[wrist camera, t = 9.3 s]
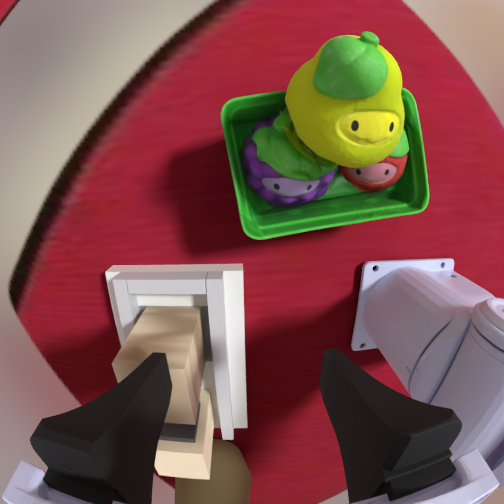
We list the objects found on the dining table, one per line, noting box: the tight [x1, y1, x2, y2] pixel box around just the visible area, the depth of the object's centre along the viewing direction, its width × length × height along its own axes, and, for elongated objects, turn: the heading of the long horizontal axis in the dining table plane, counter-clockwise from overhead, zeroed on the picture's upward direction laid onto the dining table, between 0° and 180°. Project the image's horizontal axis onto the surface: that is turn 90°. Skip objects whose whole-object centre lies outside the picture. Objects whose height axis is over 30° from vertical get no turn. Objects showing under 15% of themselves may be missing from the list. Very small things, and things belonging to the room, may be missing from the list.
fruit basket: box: [221, 32, 429, 240], centre depth 13 cm, size 11×9×11 cm
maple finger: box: [112, 306, 206, 425], centre depth 17 cm, size 4×5×7 cm
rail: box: [105, 264, 248, 480], centre depth 19 cm, size 10×16×8 cm, turn 1°
